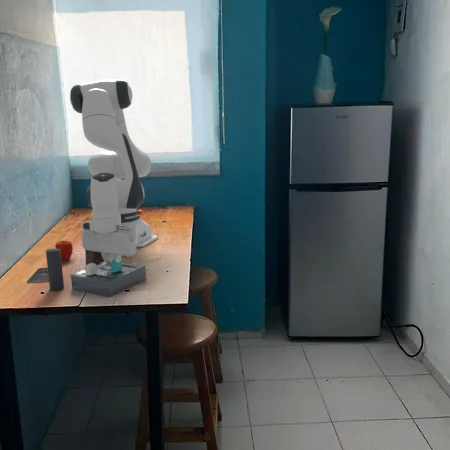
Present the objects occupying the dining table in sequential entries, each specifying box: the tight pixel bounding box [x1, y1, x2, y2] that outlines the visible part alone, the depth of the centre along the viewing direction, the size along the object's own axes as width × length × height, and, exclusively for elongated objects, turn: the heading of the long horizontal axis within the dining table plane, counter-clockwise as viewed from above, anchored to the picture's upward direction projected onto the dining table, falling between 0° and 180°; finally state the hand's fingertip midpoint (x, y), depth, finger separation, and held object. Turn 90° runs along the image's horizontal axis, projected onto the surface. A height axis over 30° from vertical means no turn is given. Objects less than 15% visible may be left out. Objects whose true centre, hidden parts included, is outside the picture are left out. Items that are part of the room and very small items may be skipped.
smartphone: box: [26, 267, 49, 284], centre depth 187 cm, size 8×1×15 cm
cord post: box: [45, 247, 65, 292], centre depth 172 cm, size 4×4×13 cm
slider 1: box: [84, 263, 97, 275], centre depth 171 cm, size 3×2×3 cm, turn 150°
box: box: [84, 249, 105, 265], centre depth 188 cm, size 6×4×12 cm
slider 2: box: [109, 255, 122, 261], centre depth 181 cm, size 3×2×3 cm, turn 150°
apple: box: [55, 240, 73, 262], centre depth 204 cm, size 6×6×8 cm
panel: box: [70, 260, 147, 298], centre depth 176 cm, size 18×16×5 cm
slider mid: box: [111, 260, 123, 272], centre depth 173 cm, size 3×2×3 cm, turn 150°
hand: (110, 265), depth 174 cm, fingers closed
